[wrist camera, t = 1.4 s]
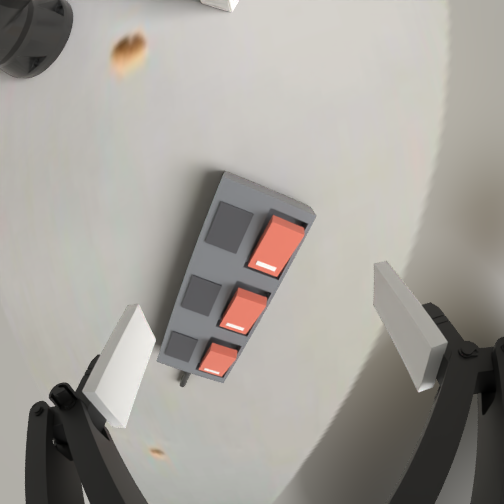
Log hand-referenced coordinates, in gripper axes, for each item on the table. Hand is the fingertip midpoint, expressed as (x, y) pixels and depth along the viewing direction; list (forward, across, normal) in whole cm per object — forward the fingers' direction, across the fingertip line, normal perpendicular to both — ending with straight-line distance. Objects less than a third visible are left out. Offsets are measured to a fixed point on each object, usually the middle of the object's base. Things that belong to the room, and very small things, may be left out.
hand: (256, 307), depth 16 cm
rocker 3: (+23, +1, -7) cm, 24 cm away
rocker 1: (+23, -12, -26) cm, 37 cm away
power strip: (+27, -10, -18) cm, 34 cm away
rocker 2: (+23, -5, -17) cm, 29 cm away
